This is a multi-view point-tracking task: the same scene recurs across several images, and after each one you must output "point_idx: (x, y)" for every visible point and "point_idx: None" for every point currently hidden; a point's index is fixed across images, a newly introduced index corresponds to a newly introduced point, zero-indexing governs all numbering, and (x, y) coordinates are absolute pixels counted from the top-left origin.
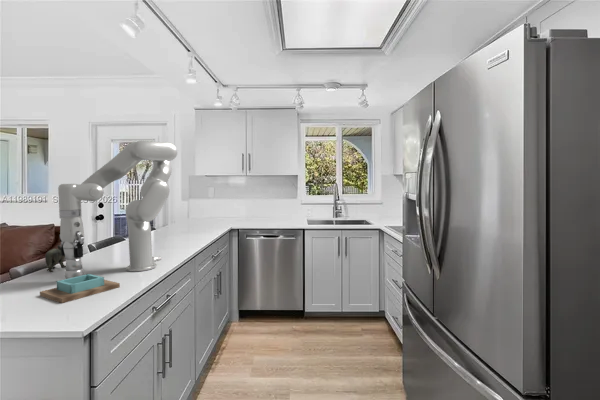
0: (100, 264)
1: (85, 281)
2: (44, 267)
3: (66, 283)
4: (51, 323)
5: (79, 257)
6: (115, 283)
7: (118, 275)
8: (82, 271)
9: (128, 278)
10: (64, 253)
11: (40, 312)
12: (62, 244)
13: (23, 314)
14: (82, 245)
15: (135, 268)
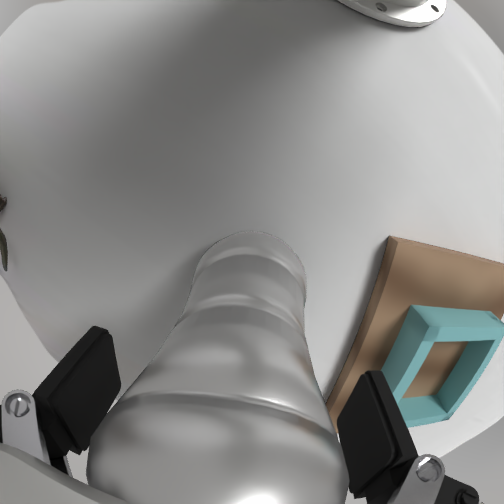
0: (68, 10)
1: (472, 385)
2: (6, 265)
3: (422, 422)
4: (464, 436)
5: (309, 356)
6: None
7: (399, 98)
8: (301, 272)
9: (481, 146)
10: (112, 389)
11: (419, 442)
12: (67, 463)
13: None
14: (446, 476)
15: (408, 8)
